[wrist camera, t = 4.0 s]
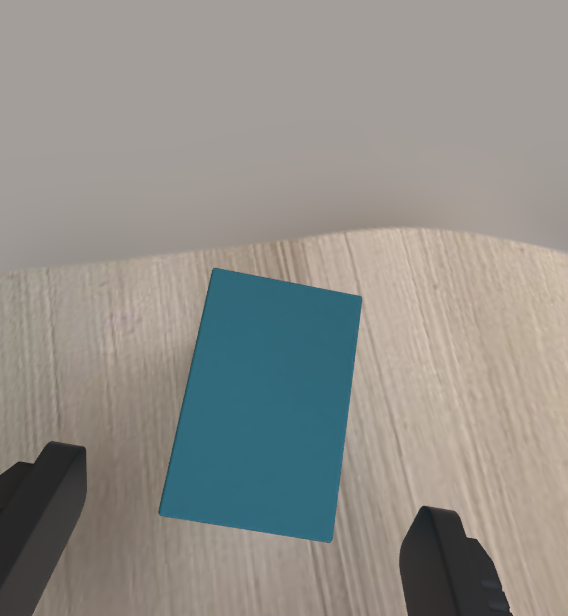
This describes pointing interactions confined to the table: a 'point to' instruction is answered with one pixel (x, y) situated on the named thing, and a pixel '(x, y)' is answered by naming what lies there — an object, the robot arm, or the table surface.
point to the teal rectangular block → (265, 408)
